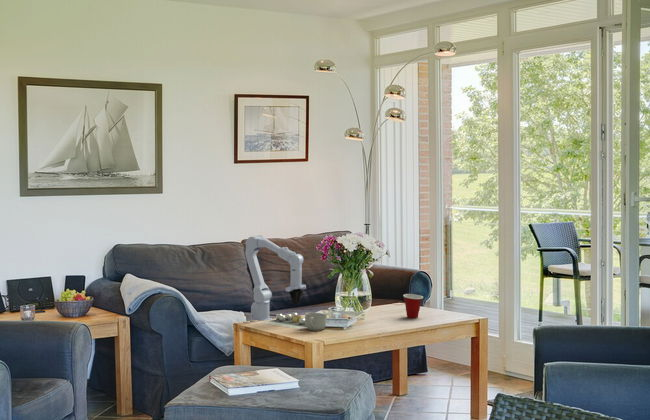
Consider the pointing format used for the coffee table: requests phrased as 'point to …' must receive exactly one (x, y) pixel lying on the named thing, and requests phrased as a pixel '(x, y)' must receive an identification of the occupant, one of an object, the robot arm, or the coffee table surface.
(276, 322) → the mat
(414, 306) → the plastic cup
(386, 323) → the coffee table surface
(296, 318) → the nut
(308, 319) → the teacup
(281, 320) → the spacers
